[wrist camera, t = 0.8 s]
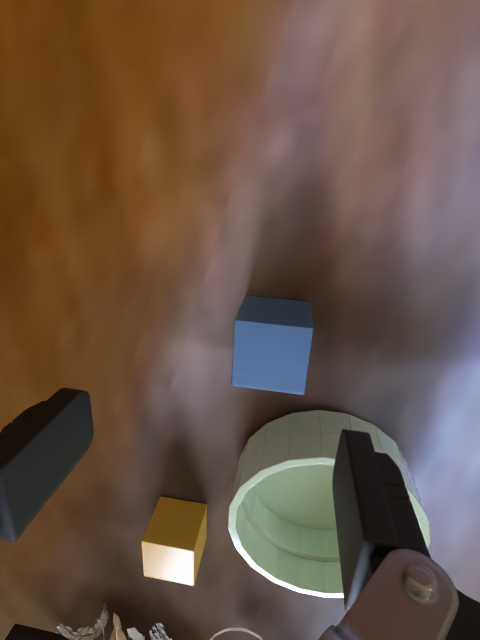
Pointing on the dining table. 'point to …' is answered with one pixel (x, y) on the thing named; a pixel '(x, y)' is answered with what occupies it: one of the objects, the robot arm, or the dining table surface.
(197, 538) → the mustard cube
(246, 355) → the blue cube
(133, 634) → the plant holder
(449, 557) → the dining table surface
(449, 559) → the dining table surface
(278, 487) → the bowl
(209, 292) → the dining table surface
